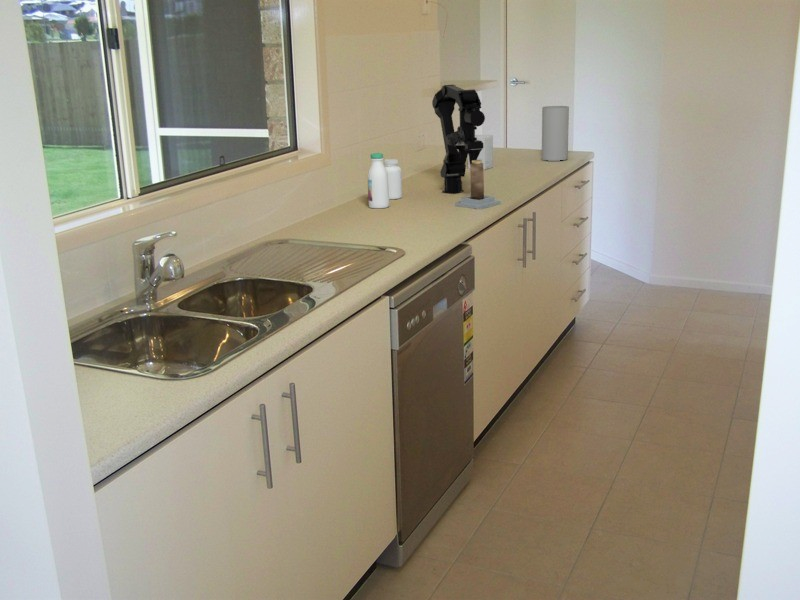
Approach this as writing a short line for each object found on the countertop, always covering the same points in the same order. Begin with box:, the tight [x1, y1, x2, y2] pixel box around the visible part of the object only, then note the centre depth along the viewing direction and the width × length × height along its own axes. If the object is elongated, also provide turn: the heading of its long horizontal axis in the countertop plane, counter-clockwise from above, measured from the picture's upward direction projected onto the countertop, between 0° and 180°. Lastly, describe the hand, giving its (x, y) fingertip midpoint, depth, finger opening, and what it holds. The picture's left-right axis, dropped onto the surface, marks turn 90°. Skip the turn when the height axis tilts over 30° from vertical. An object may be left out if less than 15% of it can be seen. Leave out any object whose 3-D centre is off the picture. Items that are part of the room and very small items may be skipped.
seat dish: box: [454, 194, 501, 210], centre depth 324 cm, size 12×12×3 cm
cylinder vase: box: [541, 105, 570, 162], centre depth 418 cm, size 12×12×25 cm
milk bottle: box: [367, 152, 390, 209], centre depth 324 cm, size 8×8×20 cm
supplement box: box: [467, 134, 494, 171], centre depth 403 cm, size 9×9×15 cm
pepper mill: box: [469, 160, 485, 200], centre depth 322 cm, size 5×5×15 cm
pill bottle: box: [383, 158, 403, 200], centre depth 341 cm, size 8×8×15 cm
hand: (467, 165), depth 332 cm, fingers open, 9 cm apart
